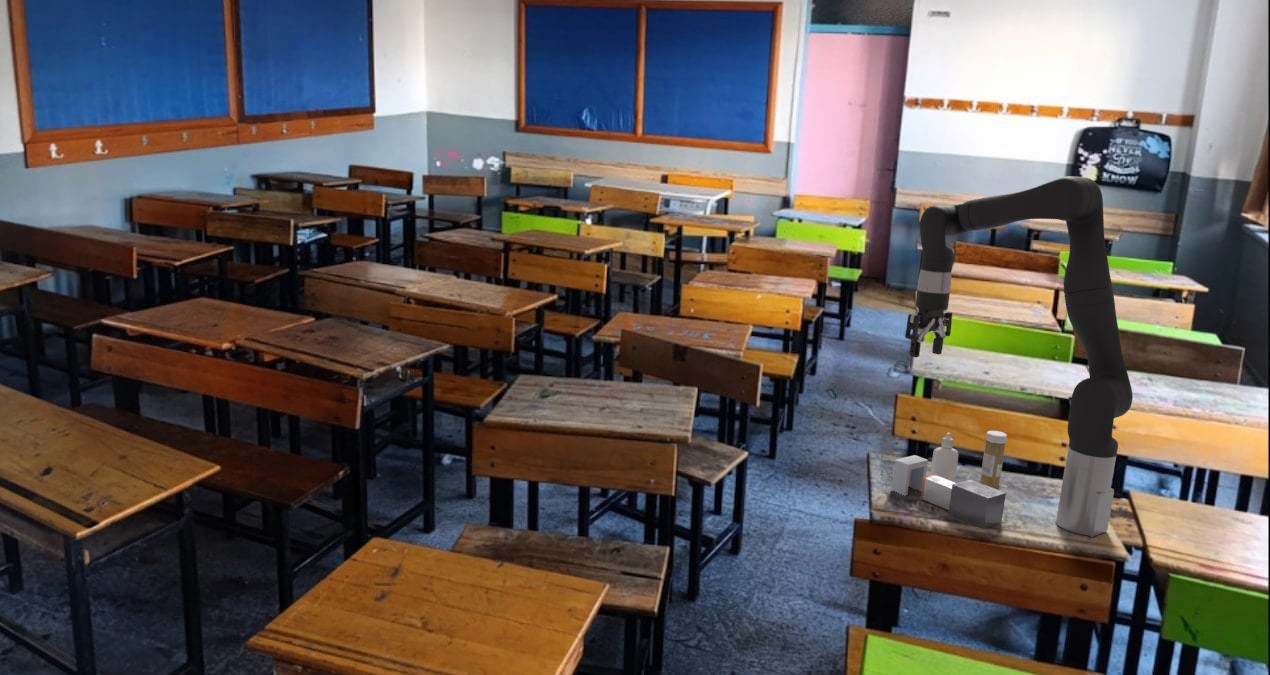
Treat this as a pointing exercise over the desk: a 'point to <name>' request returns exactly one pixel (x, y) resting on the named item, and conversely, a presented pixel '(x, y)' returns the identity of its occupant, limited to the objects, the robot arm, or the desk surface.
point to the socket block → (909, 474)
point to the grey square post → (937, 491)
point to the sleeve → (977, 503)
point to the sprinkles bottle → (993, 459)
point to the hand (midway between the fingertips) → (925, 355)
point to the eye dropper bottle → (945, 460)
